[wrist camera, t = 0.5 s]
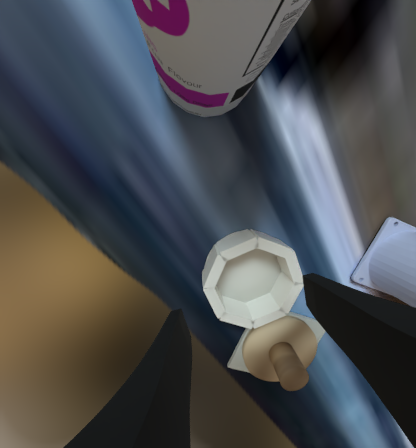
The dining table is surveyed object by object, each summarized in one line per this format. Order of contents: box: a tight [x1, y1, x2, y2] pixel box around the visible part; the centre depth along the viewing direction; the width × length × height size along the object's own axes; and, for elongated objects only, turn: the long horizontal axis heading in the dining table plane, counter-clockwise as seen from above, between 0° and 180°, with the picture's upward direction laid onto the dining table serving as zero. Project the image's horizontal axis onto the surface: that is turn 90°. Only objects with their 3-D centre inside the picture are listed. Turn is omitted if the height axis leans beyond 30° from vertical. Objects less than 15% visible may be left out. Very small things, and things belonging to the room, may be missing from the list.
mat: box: [227, 311, 325, 373], centre depth 24 cm, size 10×10×1 cm
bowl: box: [202, 229, 304, 329], centre depth 20 cm, size 9×9×4 cm
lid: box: [242, 315, 317, 391], centre depth 22 cm, size 9×9×4 cm
